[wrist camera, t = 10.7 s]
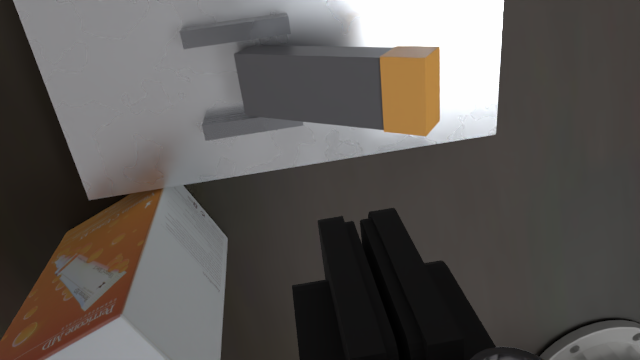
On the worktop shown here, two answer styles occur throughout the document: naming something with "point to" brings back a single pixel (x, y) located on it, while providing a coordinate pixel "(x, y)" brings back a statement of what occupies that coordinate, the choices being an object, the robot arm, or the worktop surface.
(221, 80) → the panel
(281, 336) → the worktop surface
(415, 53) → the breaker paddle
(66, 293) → the small box
